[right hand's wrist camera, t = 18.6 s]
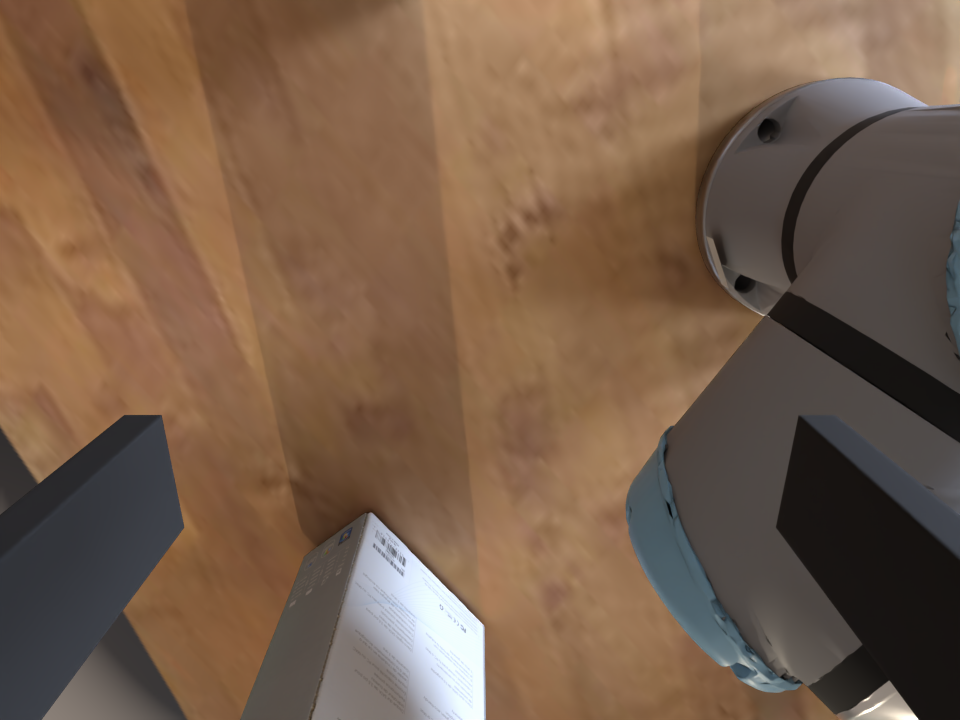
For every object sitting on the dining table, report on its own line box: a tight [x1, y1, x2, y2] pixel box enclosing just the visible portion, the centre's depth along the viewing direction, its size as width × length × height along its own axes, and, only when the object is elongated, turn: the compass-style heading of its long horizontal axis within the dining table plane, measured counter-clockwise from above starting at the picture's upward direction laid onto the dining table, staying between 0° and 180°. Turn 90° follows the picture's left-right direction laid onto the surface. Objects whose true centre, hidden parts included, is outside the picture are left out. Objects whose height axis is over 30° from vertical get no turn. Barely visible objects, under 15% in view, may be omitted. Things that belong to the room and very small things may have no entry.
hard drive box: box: [240, 512, 486, 720], centre depth 43 cm, size 16×8×20 cm, turn 38°
